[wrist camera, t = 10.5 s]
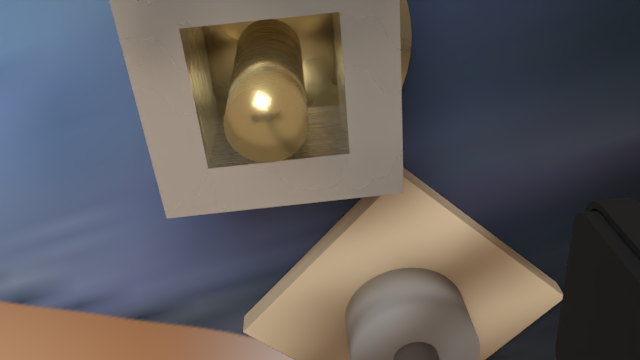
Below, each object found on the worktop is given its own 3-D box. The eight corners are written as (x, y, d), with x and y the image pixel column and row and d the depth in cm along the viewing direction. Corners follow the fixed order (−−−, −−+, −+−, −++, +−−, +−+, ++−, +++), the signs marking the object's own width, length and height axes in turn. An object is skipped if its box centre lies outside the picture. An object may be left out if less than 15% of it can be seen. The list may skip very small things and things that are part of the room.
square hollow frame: (385, 139, 21) (403, 192, 18) (182, 161, 21) (166, 218, 18) (377, -79, 17) (398, -59, 14) (132, -54, 17) (101, -28, 14)
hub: (454, 12, 21) (534, 96, 14) (290, 189, 24) (295, 324, 17) (241, -185, 17) (219, -191, 11) (84, 51, 21) (-4, 154, 14)
